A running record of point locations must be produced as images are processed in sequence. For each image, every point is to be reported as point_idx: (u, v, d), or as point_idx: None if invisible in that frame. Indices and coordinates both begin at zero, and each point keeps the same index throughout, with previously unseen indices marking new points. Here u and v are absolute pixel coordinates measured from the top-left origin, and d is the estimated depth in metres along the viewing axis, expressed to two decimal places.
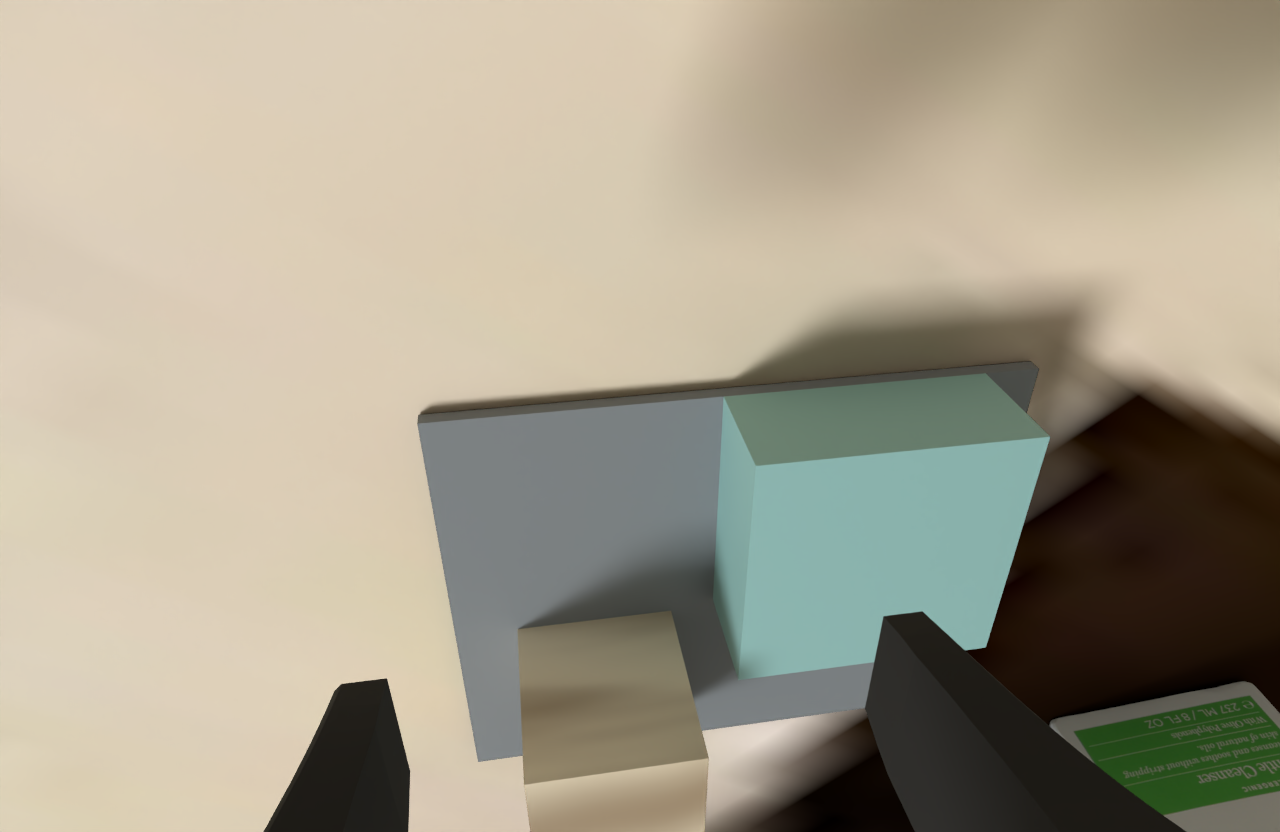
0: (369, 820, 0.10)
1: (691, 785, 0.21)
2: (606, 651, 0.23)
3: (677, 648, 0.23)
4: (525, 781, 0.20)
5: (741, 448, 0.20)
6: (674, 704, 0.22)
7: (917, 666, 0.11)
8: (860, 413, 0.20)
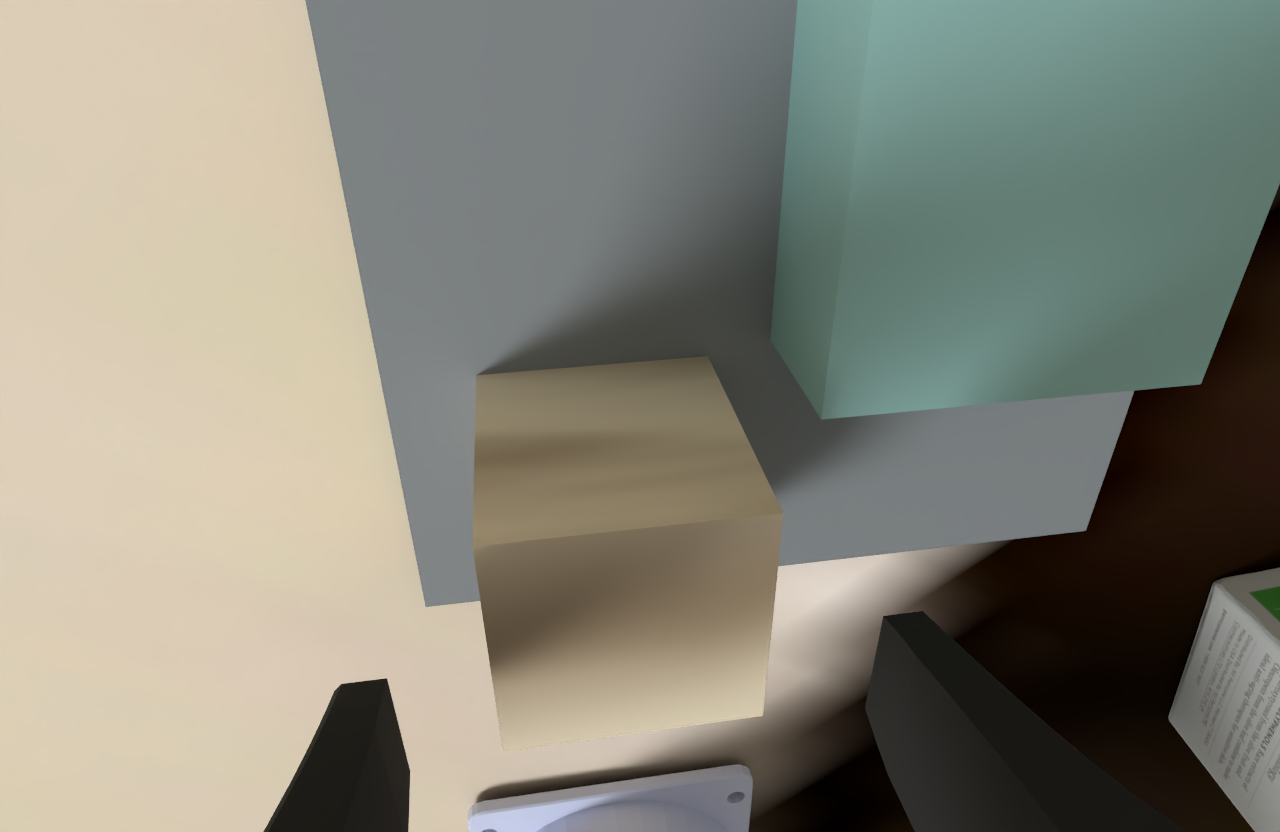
0: (369, 820, 0.10)
1: (751, 568, 0.13)
2: (611, 396, 0.15)
3: (720, 393, 0.15)
4: (475, 543, 0.12)
5: None
6: (720, 452, 0.14)
7: (917, 666, 0.11)
8: None
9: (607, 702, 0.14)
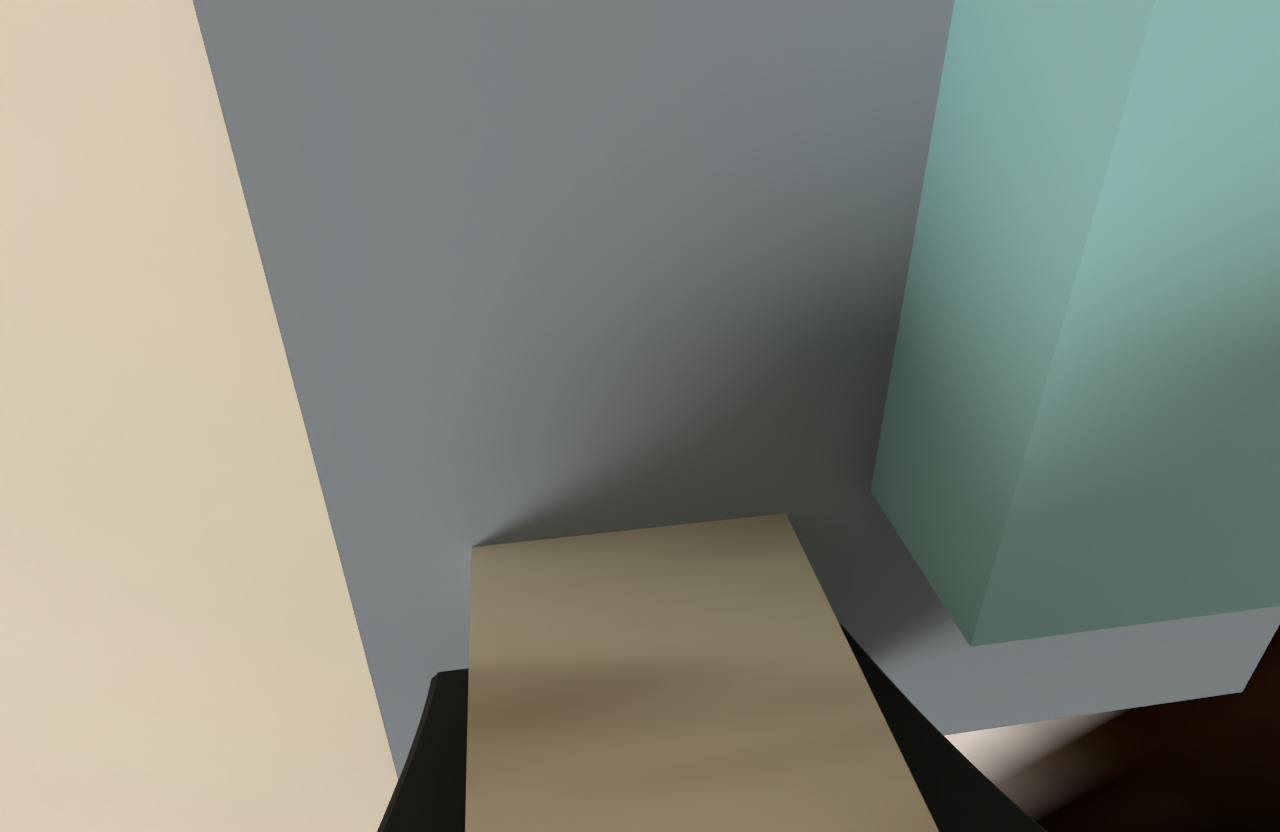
0: None
1: None
2: (660, 588, 0.11)
3: (812, 583, 0.11)
4: None
5: None
6: (826, 702, 0.09)
7: None
8: None
9: None
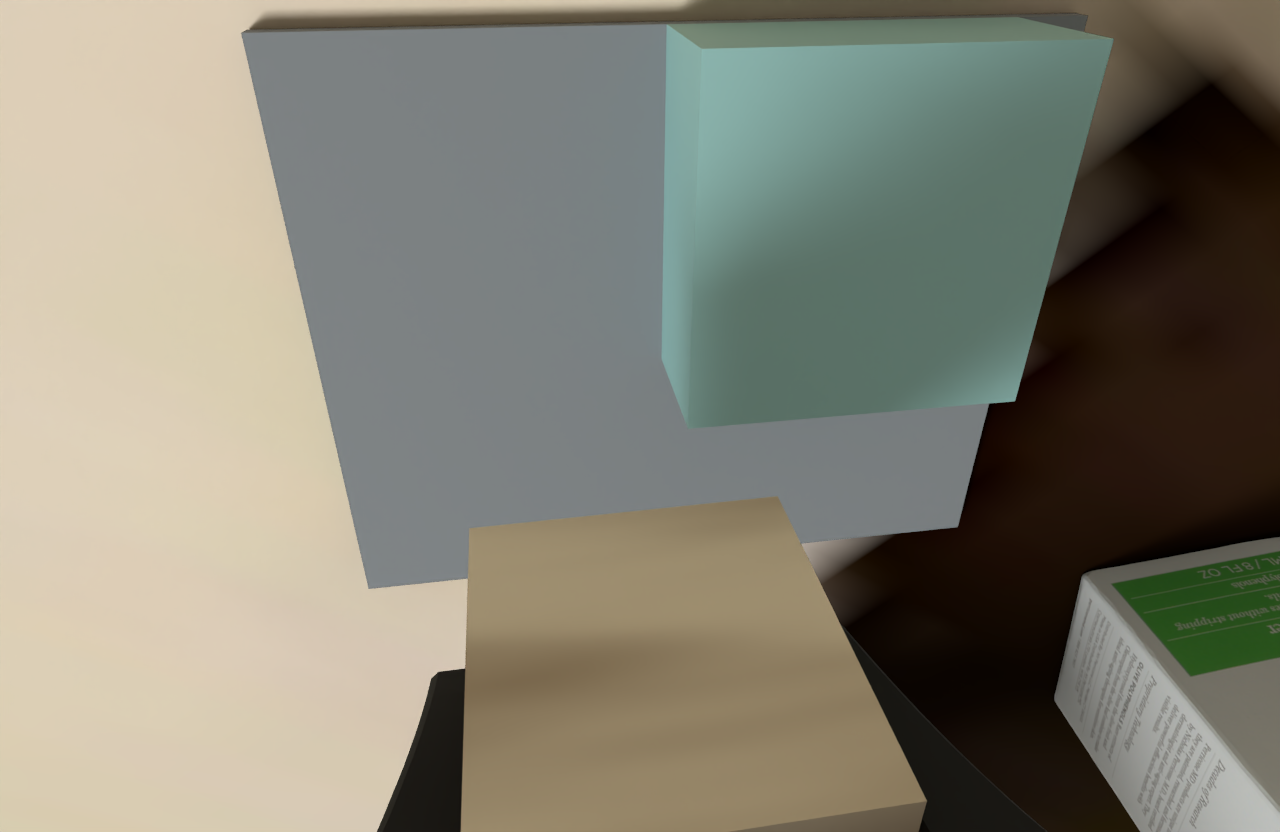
0: None
1: None
2: (654, 566, 0.11)
3: (803, 561, 0.11)
4: None
5: (685, 58, 0.14)
6: (815, 672, 0.10)
7: None
8: (850, 30, 0.15)
9: None
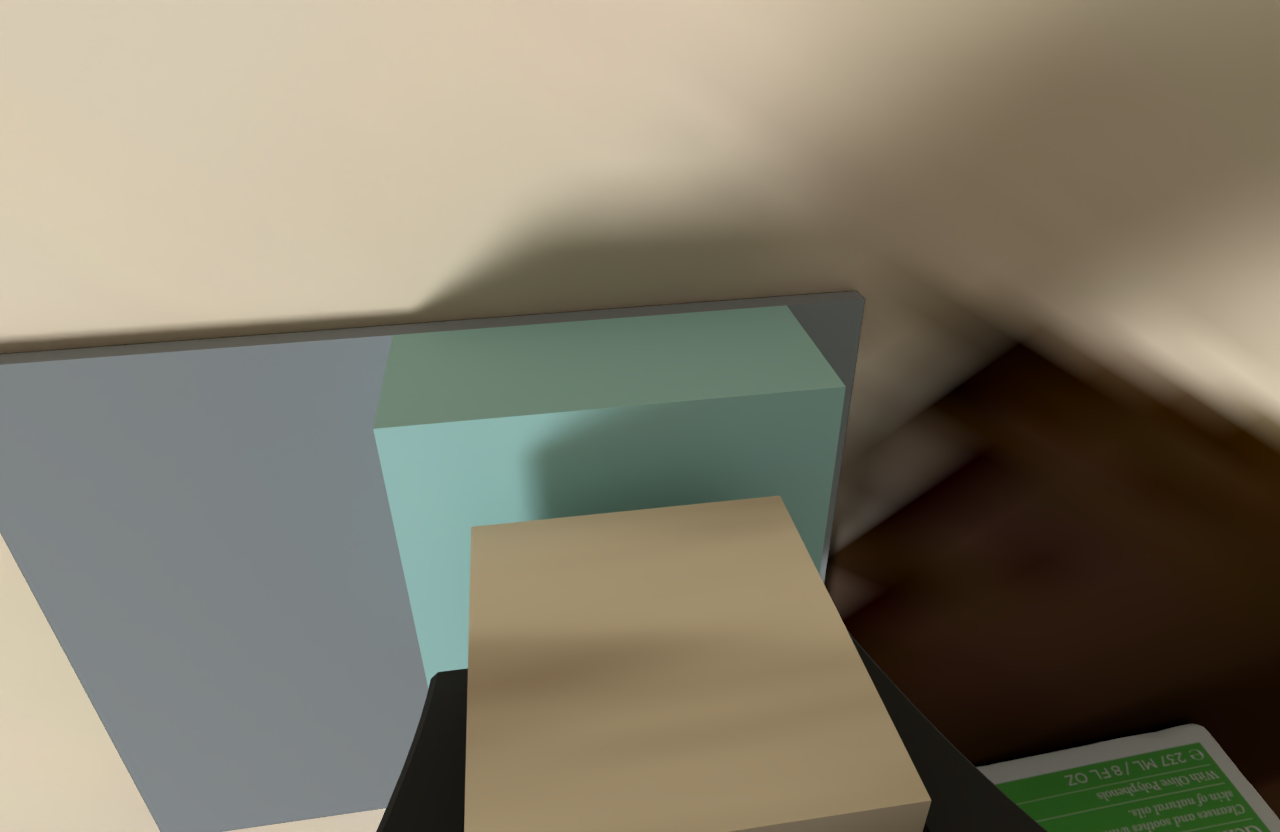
0: None
1: None
2: (656, 564, 0.11)
3: (805, 560, 0.11)
4: None
5: None
6: (819, 671, 0.10)
7: None
8: (578, 356, 0.14)
9: None
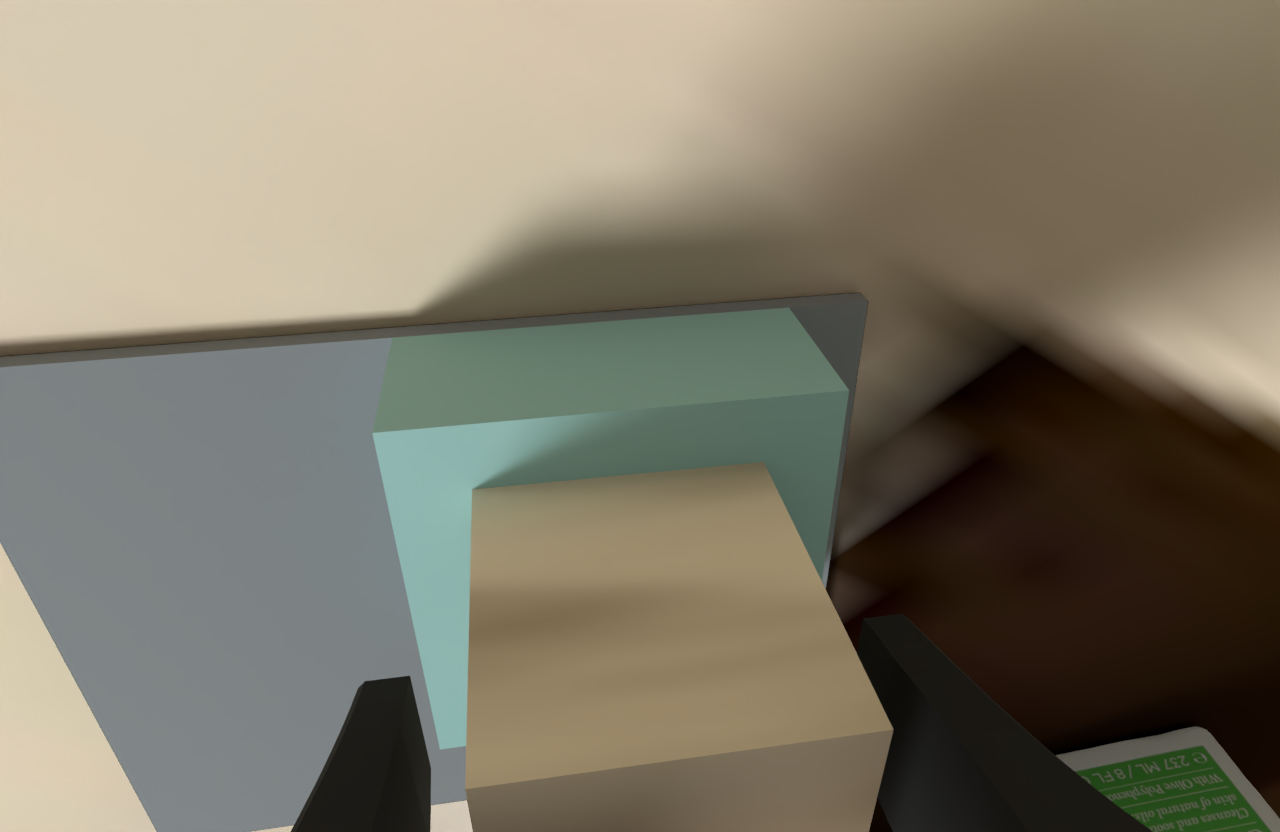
0: (395, 816, 0.10)
1: (843, 793, 0.09)
2: (646, 524, 0.12)
3: (786, 520, 0.12)
4: (469, 781, 0.08)
5: None
6: (794, 618, 0.10)
7: (895, 669, 0.11)
8: (579, 359, 0.14)
9: None
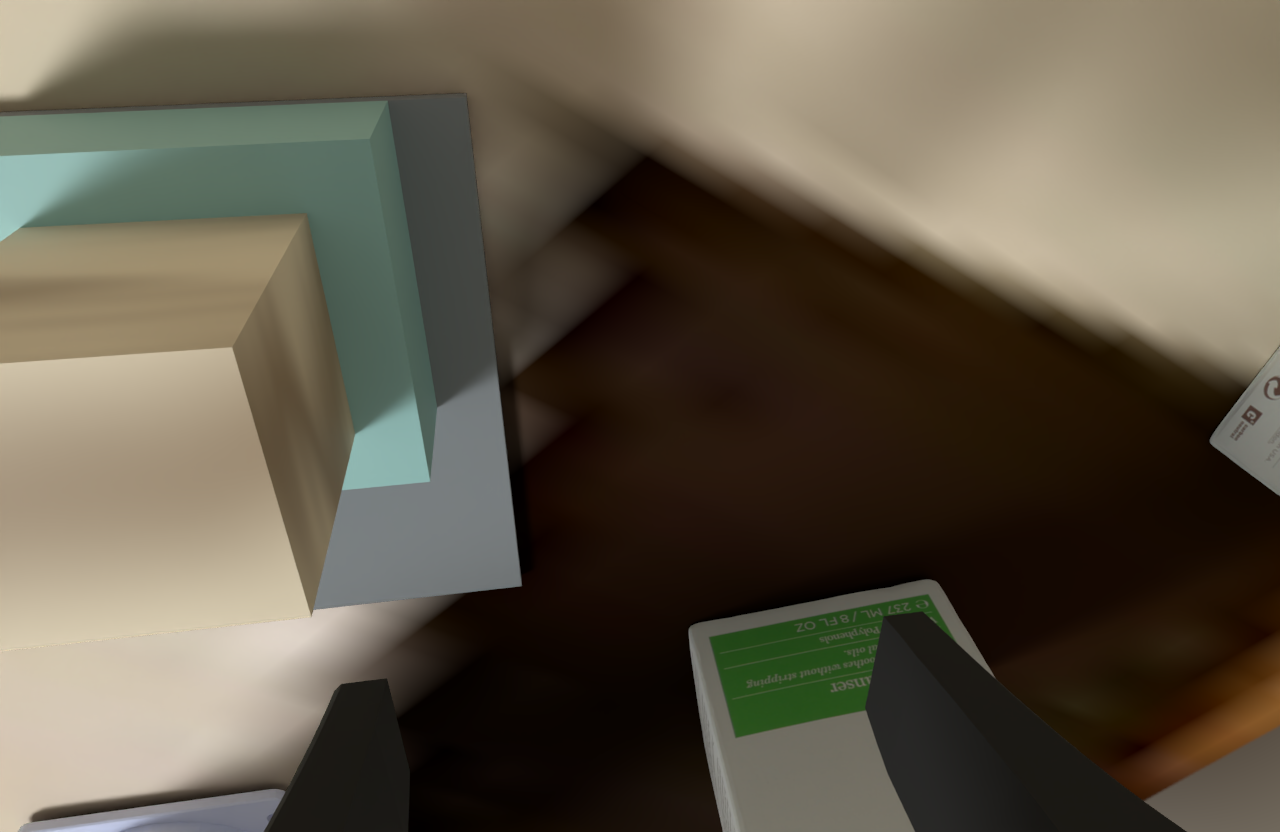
0: (369, 820, 0.10)
1: (218, 421, 0.11)
2: (154, 245, 0.13)
3: (283, 243, 0.13)
4: None
5: None
6: (221, 293, 0.11)
7: (917, 666, 0.11)
8: (150, 125, 0.15)
9: (95, 593, 0.12)
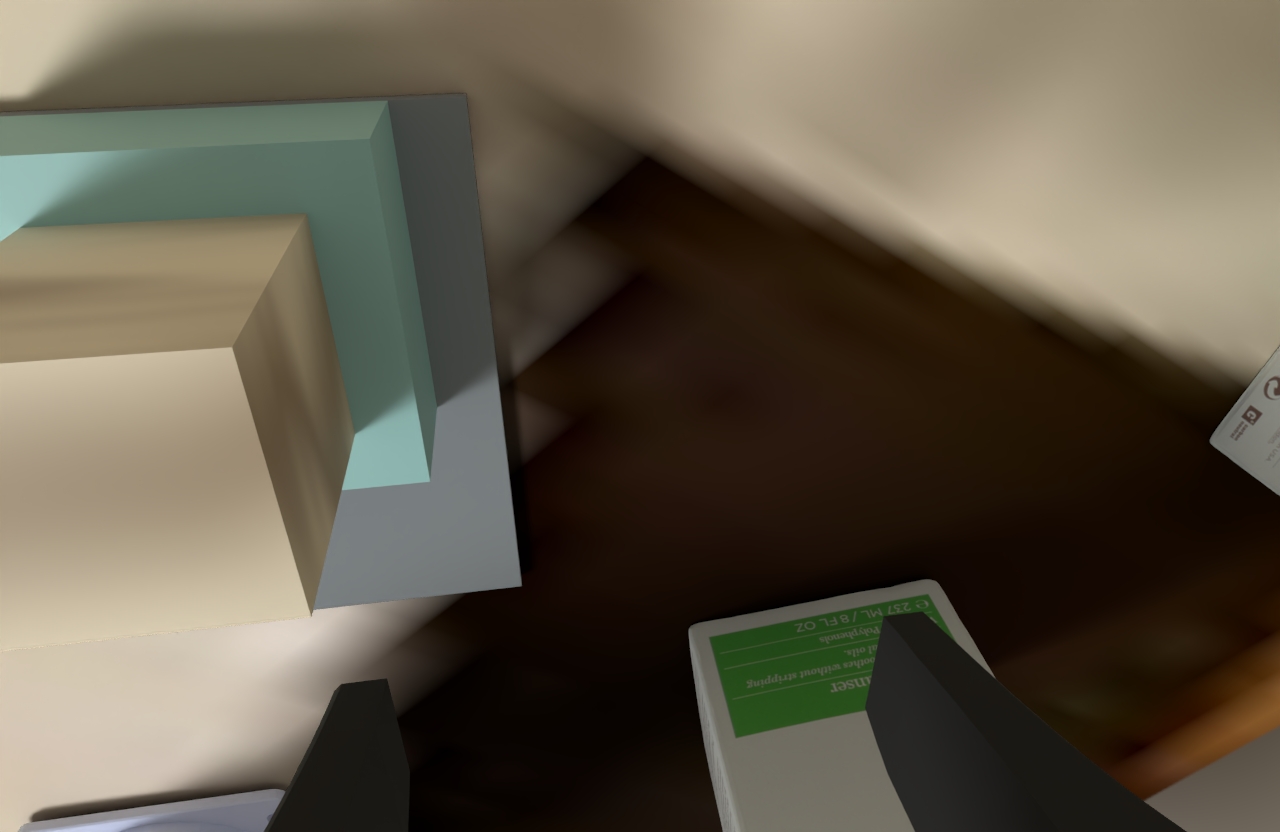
0: (369, 820, 0.10)
1: (218, 421, 0.11)
2: (154, 245, 0.13)
3: (283, 243, 0.13)
4: None
5: None
6: (221, 293, 0.11)
7: (917, 666, 0.11)
8: (149, 125, 0.15)
9: (94, 593, 0.12)
